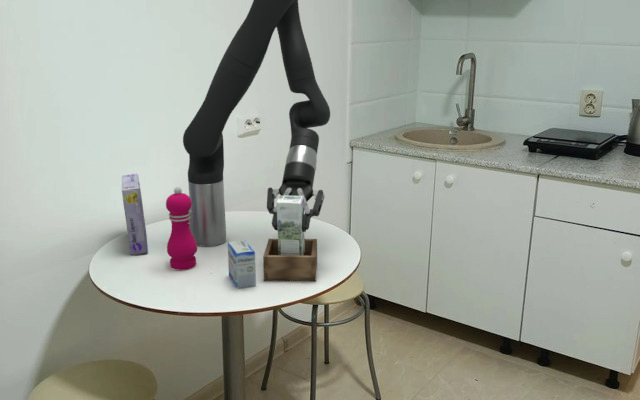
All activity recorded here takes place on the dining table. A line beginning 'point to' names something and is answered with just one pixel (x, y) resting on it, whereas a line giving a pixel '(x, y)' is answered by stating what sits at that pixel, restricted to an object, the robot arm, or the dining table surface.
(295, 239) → the syrup box
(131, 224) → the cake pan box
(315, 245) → the open wooden box
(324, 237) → the dining table surface
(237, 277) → the medicine box
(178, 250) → the pepper mill
